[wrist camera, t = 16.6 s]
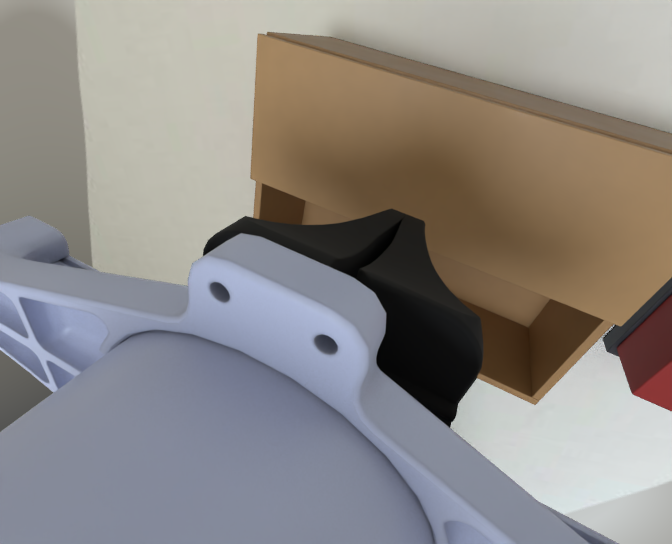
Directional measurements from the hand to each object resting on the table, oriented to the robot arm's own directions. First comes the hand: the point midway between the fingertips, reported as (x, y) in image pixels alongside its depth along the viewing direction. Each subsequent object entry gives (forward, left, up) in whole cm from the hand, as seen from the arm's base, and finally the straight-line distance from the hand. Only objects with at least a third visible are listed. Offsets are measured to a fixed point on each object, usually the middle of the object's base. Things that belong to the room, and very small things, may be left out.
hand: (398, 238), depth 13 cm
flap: (+1, 0, -3) cm, 4 cm away
